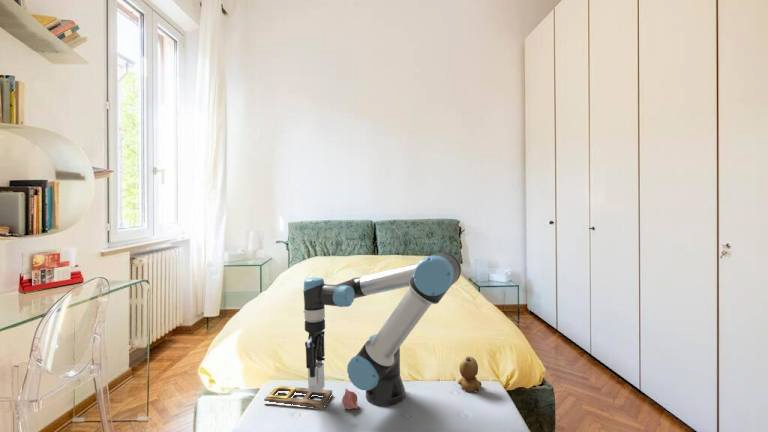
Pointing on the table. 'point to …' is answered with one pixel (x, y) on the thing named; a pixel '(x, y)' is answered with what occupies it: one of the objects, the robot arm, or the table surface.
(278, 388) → the board
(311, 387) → the block
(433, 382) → the table surface
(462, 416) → the table surface
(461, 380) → the figurine
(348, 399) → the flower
